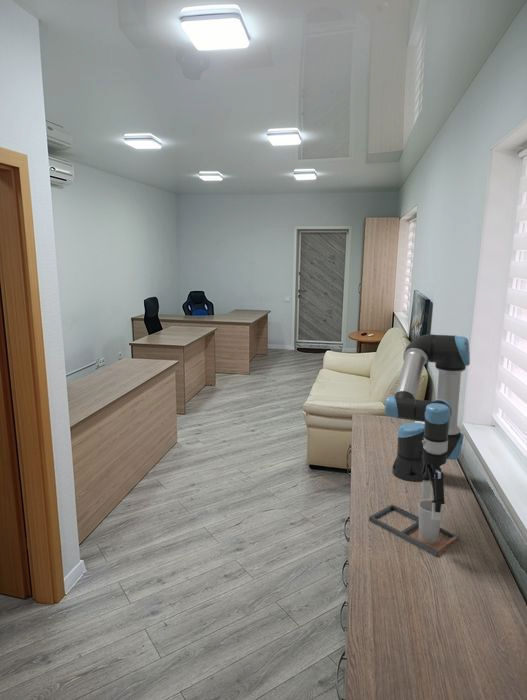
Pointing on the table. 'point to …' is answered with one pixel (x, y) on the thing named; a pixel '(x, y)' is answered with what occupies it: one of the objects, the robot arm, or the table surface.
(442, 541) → the two-slot metal tray
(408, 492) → the table surface
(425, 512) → the cup
